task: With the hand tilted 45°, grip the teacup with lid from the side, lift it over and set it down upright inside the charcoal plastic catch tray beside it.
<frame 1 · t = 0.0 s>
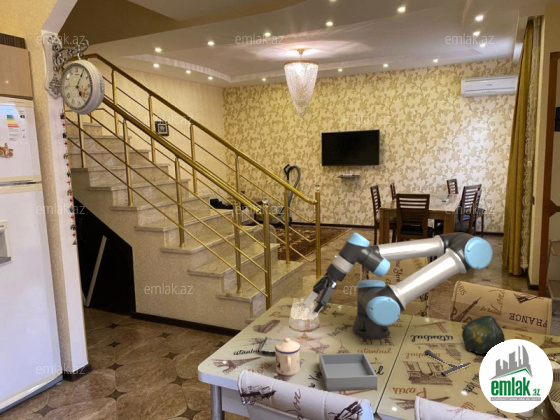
hand: (307, 311, 160), 15 cm above the table, tool tilted 35°, fingers open, 13 cm apart
squash: (482, 351, 158), on the table
dark grey rake: (441, 364, 150), on the table
catch tray: (346, 377, 140), on the table
teacup with lid: (288, 372, 144), on the table
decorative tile: (272, 350, 162), on the table
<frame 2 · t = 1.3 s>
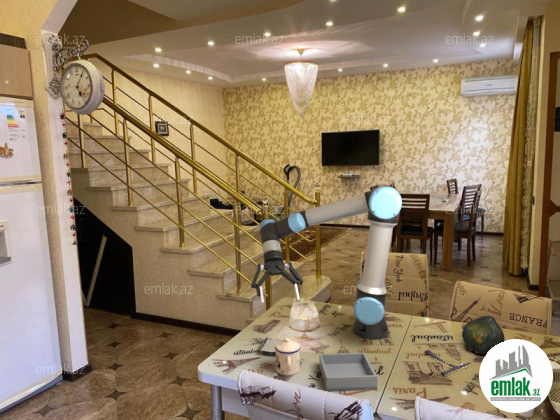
hand: (280, 302, 151), 22 cm above the table, tool tilted 45°, fingers open, 13 cm apart
nothing on the table moved.
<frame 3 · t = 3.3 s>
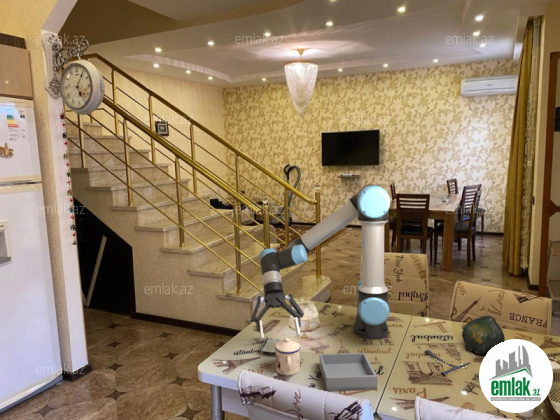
hand: (280, 337, 148), 11 cm above the table, tool tilted 45°, fingers open, 13 cm apart
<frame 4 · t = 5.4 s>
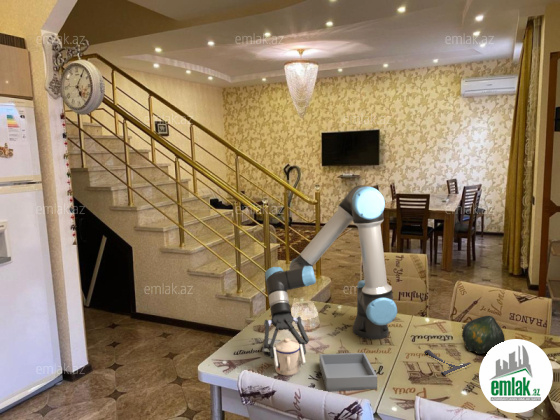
hand: (290, 365, 141), 4 cm above the table, tool tilted 45°, fingers closed on teacup with lid, 9 cm apart
teacup with lid: (287, 372, 144), on the table, touching gripper
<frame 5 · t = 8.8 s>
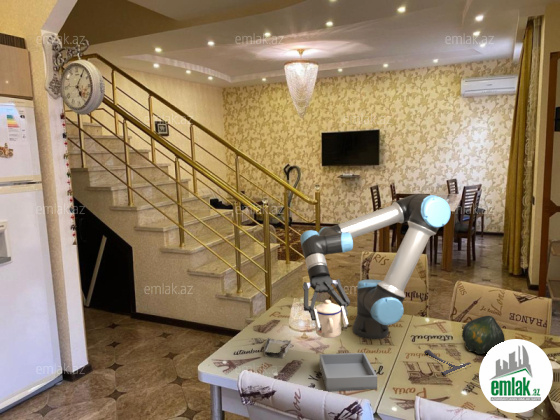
hand: (332, 327, 136), 19 cm above the table, tool tilted 45°, fingers closed on teacup with lid, 9 cm apart
teacup with lid: (329, 335, 139), point 15 cm above the table, touching gripper
when the fingers open (7 cm above the table, at t = 12.1 s): teacup with lid drops 2 cm, resting on catch tray.
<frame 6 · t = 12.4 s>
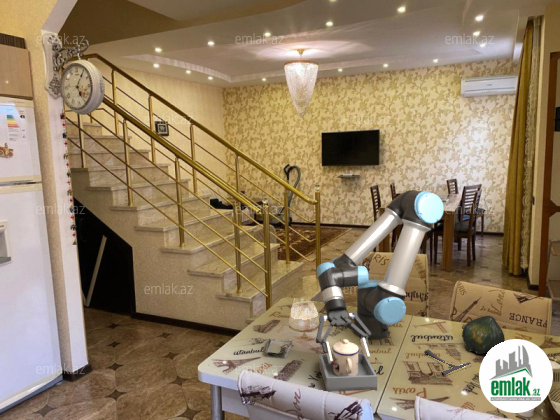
hand: (349, 360, 137), 7 cm above the table, tool tilted 45°, fingers open, 13 cm apart
teacup with lid: (346, 374, 140), point 1 cm above the table, touching catch tray
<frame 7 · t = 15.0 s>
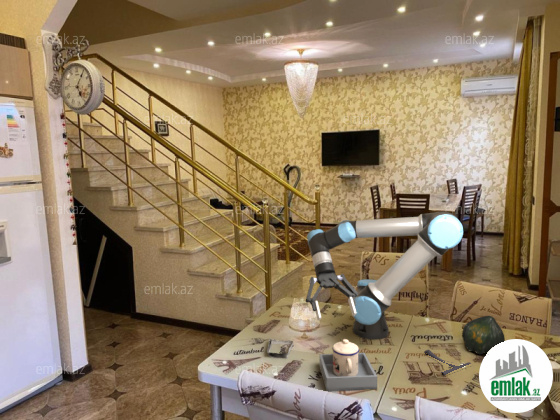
hand: (337, 317, 148), 18 cm above the table, tool tilted 45°, fingers open, 13 cm apart
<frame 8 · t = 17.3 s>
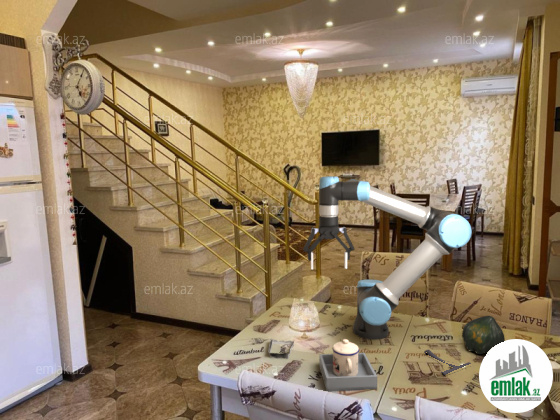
hand: (328, 268, 162), 32 cm above the table, tool pointing down, fingers open, 13 cm apart
at the end: teacup with lid inside the target area on the catch tray (0.1 cm from its centre), point 0.8 cm above the catch tray's base; teacup with lid tilted 0°; the gripper is holding nothing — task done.
